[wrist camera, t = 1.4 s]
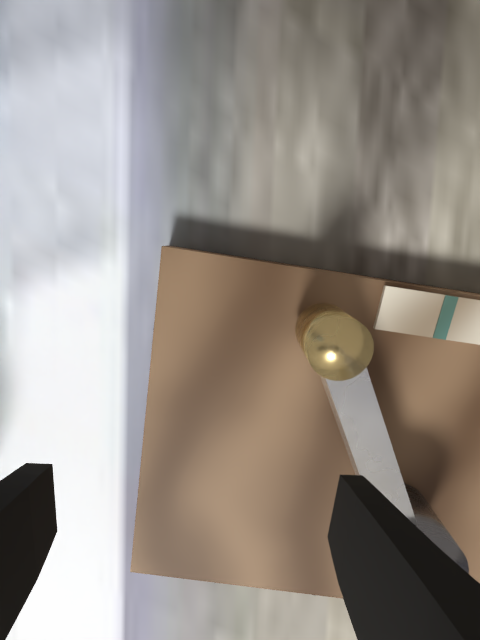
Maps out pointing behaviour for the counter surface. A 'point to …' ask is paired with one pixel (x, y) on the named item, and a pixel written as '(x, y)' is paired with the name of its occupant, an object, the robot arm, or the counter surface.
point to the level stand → (292, 418)
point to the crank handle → (364, 413)
